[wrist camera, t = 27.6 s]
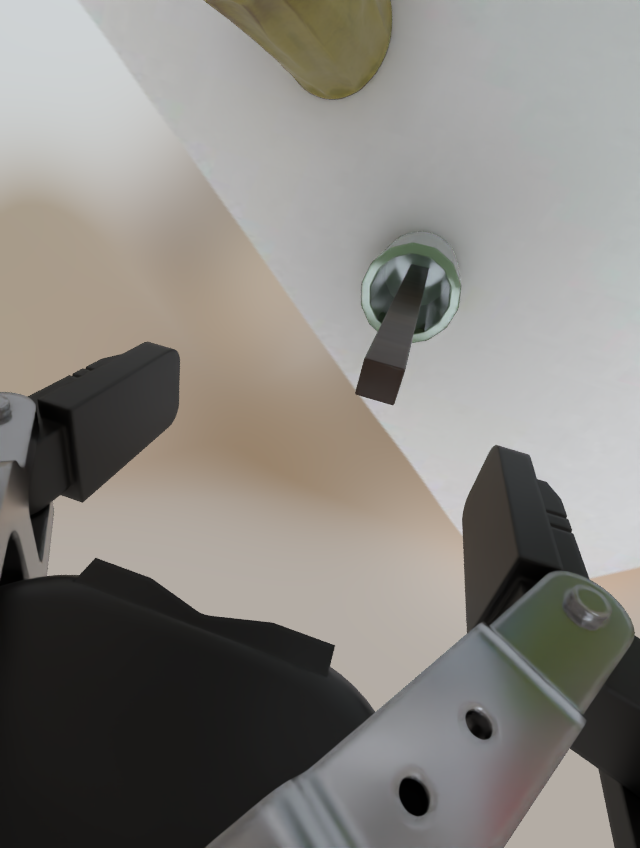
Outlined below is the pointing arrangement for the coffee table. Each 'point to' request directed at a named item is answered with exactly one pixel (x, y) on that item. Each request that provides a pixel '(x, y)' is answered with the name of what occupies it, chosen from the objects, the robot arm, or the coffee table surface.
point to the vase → (318, 38)
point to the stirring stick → (393, 341)
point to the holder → (438, 289)
